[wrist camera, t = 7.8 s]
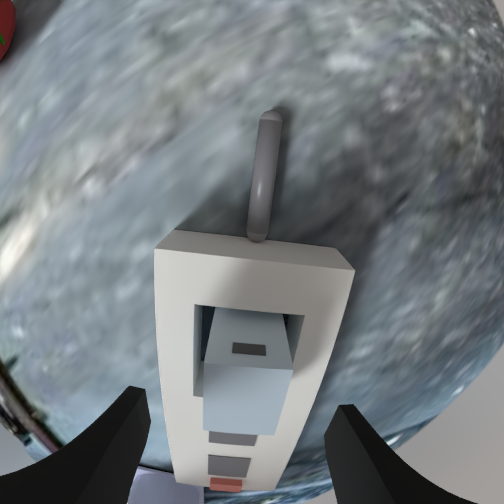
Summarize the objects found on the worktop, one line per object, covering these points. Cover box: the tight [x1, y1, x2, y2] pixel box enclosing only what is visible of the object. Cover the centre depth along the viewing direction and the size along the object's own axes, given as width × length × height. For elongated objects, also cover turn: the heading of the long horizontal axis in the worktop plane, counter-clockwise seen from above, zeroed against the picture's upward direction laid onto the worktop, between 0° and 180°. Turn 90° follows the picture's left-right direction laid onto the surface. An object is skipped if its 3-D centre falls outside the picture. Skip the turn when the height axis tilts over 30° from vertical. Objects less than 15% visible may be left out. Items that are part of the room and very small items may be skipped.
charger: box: [203, 307, 293, 435], centre depth 13 cm, size 4×3×6 cm
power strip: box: [154, 110, 355, 492], centre depth 14 cm, size 26×8×4 cm, turn 173°
